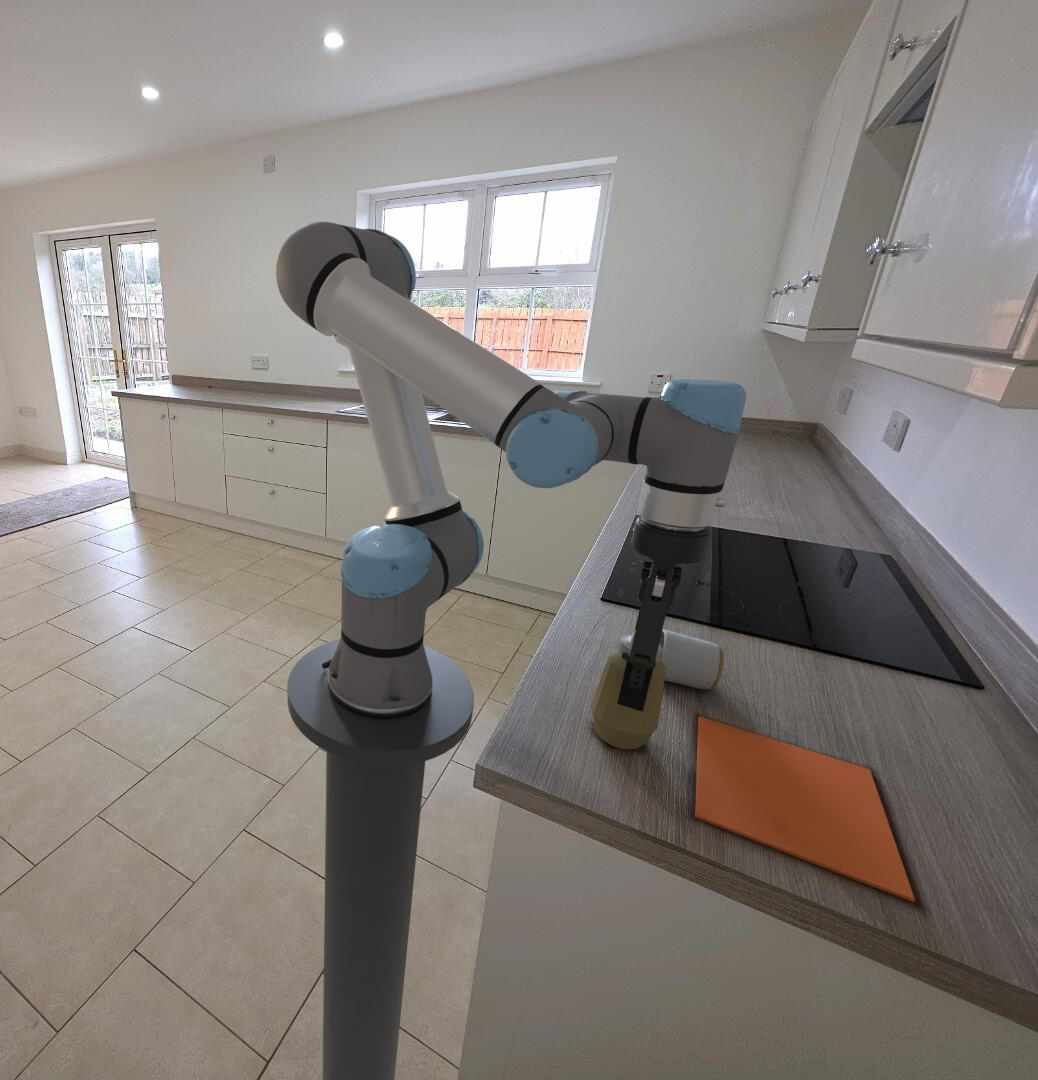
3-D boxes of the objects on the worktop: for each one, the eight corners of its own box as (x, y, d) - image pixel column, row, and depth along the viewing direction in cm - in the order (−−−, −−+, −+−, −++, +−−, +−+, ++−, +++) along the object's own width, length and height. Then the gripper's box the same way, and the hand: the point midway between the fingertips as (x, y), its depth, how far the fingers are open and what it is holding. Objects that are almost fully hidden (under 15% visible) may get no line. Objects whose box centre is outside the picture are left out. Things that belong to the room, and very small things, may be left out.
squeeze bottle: (660, 735, 76) (694, 618, 69) (640, 767, 70) (675, 643, 64) (598, 707, 81) (624, 596, 74) (575, 735, 76) (601, 618, 69)
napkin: (694, 817, 63) (695, 815, 63) (698, 718, 79) (699, 716, 79) (913, 902, 54) (915, 900, 54) (868, 771, 70) (870, 769, 70)
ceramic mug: (716, 701, 82) (730, 656, 79) (652, 687, 85) (664, 643, 83) (704, 664, 91) (717, 623, 88) (647, 652, 94) (657, 612, 92)
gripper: (713, 566, 52) (663, 746, 60) (712, 498, 72) (675, 641, 80) (623, 549, 56) (587, 721, 64) (646, 489, 76) (616, 627, 83)
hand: (636, 677), depth 72 cm, fingers open, 13 cm apart
